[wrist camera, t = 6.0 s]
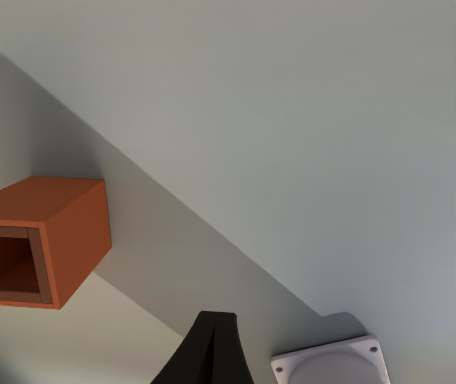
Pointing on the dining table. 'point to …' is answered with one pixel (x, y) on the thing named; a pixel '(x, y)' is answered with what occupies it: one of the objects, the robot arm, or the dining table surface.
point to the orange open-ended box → (50, 239)
